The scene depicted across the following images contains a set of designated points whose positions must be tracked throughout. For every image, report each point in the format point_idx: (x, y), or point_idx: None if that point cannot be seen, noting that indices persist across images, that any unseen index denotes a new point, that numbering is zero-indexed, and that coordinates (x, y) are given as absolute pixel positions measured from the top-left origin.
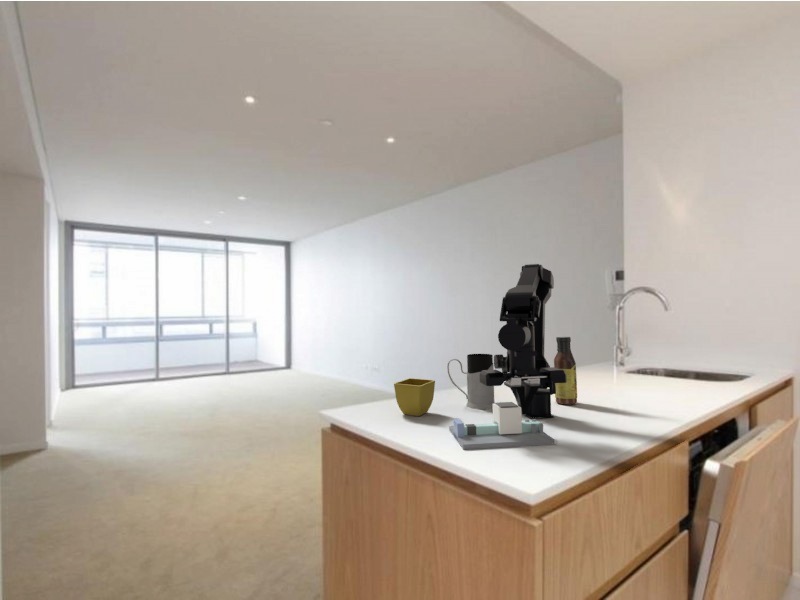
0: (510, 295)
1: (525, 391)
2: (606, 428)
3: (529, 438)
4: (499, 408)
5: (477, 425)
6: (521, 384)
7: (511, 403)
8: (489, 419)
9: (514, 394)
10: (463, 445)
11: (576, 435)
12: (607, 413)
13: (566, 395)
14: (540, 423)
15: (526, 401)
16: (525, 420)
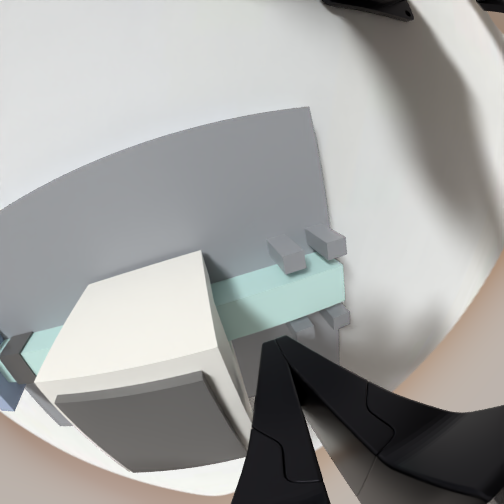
0: None
1: (370, 486)
2: (489, 172)
3: (256, 378)
4: (128, 470)
5: (37, 366)
6: (442, 489)
7: (198, 424)
8: (98, 11)
9: (249, 480)
10: (61, 424)
11: (424, 248)
12: (496, 47)
13: None
14: (342, 320)
15: (324, 446)
16: (281, 260)
